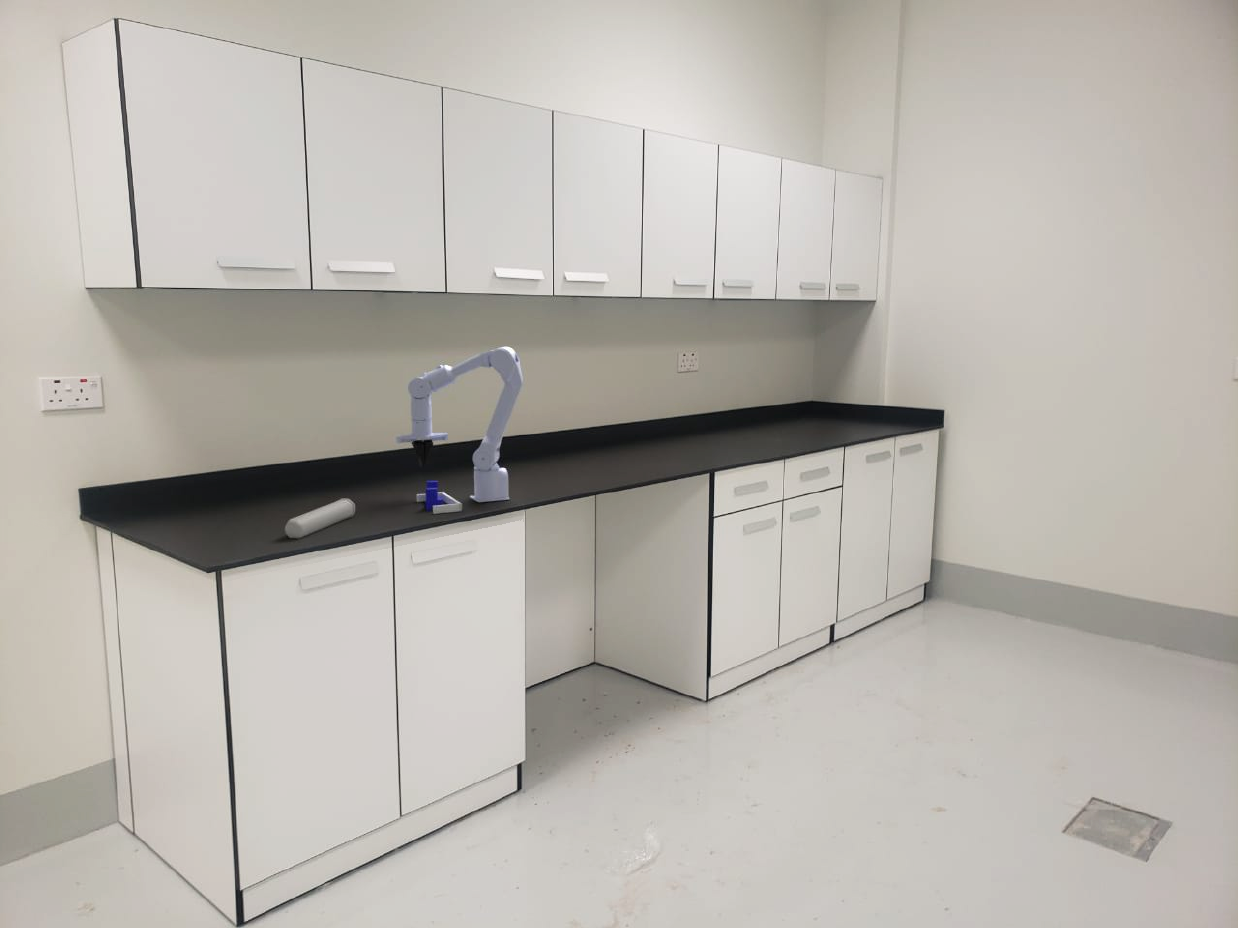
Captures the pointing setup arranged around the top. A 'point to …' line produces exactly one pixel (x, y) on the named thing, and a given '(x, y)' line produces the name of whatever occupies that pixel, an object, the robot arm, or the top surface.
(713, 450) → the top surface
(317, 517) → the tube
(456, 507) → the bracket
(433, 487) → the cable clip
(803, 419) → the top surface
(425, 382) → the robot arm
